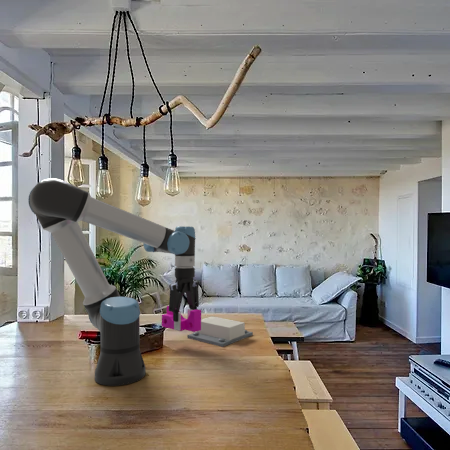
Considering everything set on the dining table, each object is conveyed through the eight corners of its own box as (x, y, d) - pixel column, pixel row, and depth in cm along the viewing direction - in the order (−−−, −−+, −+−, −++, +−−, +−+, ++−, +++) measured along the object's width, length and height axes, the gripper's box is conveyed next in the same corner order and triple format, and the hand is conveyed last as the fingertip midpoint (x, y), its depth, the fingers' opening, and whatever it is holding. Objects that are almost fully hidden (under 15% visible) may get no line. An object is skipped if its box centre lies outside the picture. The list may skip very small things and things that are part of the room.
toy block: (161, 326, 144) (161, 307, 144) (173, 323, 149) (173, 304, 149) (189, 333, 135) (189, 312, 135) (201, 330, 140) (201, 309, 140)
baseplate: (222, 346, 142) (222, 330, 143) (187, 337, 155) (187, 322, 155) (252, 335, 158) (252, 320, 158) (218, 327, 170) (218, 314, 170)
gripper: (172, 269, 131) (171, 335, 131) (209, 266, 146) (208, 325, 146) (158, 268, 136) (157, 331, 136) (195, 264, 151) (194, 322, 151)
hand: (184, 328), depth 141 cm, fingers closed on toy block, 6 cm apart
